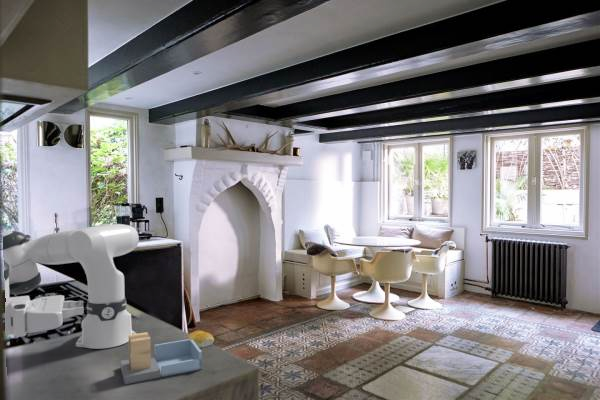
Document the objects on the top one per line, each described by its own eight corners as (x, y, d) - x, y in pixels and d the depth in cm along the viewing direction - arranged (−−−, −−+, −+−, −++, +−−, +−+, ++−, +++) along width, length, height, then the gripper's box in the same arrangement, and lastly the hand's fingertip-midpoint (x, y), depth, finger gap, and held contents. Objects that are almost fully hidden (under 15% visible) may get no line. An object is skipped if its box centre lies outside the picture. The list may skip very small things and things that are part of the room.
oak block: (129, 363, 120) (128, 334, 120) (147, 359, 123) (147, 332, 123) (131, 371, 115) (130, 341, 115) (150, 367, 117) (150, 338, 117)
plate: (120, 367, 122) (120, 360, 122) (153, 361, 126) (153, 355, 126) (124, 384, 112) (124, 377, 112) (160, 377, 116) (160, 370, 116)
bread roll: (202, 337, 148) (202, 326, 148) (217, 343, 142) (217, 331, 141) (180, 343, 142) (180, 331, 142) (196, 350, 136) (196, 338, 135)
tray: (154, 361, 126) (154, 344, 126) (192, 354, 132) (191, 338, 131) (161, 377, 116) (161, 358, 116) (202, 369, 121) (201, 351, 121)
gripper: (25, 316, 115) (83, 309, 122) (15, 339, 97) (84, 330, 103) (25, 292, 115) (82, 287, 121) (15, 311, 97) (83, 304, 103)
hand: (83, 307), depth 112 cm, fingers open, 5 cm apart
